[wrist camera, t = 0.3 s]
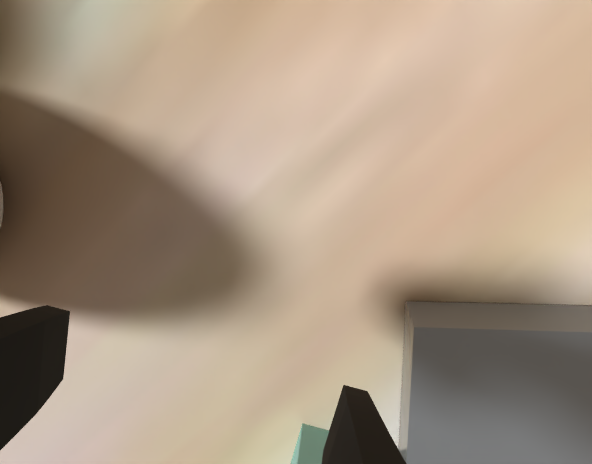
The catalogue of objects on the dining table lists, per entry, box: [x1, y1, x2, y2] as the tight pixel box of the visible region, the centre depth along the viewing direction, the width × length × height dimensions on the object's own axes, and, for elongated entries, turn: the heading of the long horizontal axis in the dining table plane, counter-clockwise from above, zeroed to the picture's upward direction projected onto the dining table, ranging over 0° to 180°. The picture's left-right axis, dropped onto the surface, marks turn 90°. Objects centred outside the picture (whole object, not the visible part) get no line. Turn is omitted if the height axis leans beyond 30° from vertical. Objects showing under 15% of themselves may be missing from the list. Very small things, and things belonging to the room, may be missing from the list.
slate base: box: [398, 301, 592, 464], centre depth 20 cm, size 12×12×2 cm
